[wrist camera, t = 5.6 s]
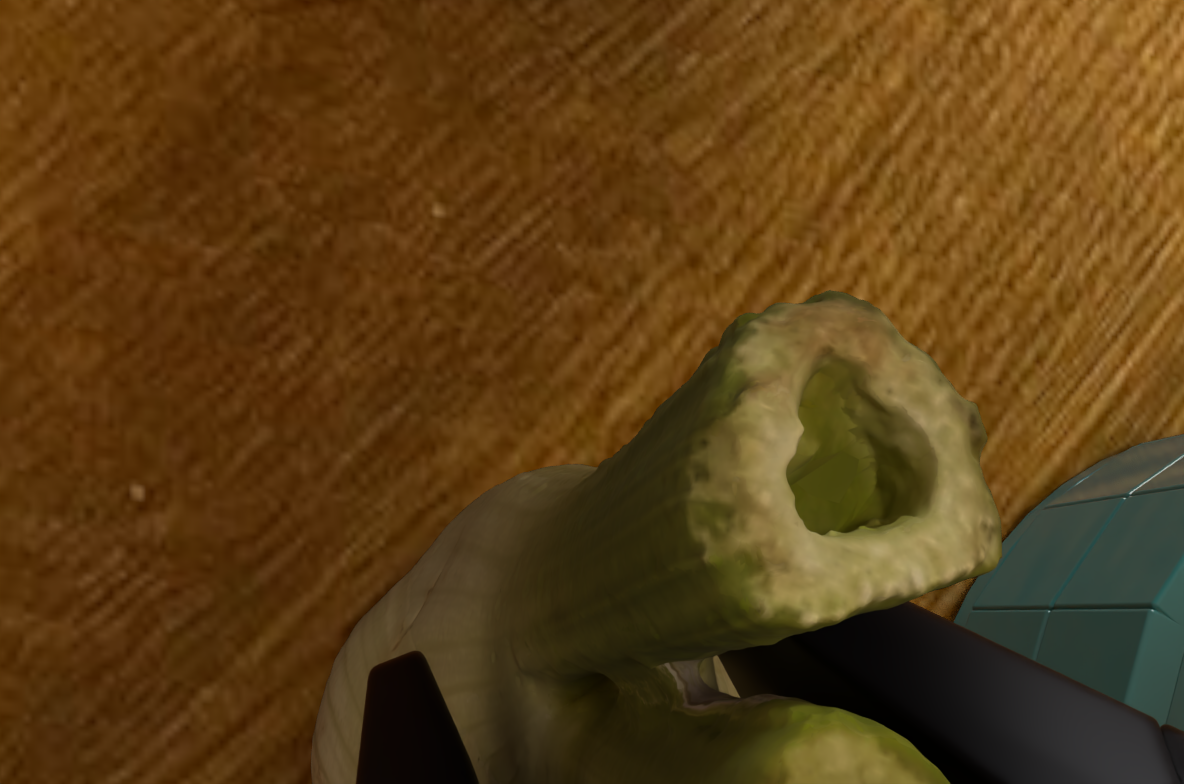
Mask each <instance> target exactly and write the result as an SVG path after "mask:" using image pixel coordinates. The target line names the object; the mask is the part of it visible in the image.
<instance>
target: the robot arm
mask: <svg viewBox="0 0 1184 784" xmlns="http://www.w3.org/2000/svg"><path fill="white" fill-rule="evenodd" d="M717 656H718V657H719V659H720V661H721V663H722V665H723V667H724V669H725V670H726V672H727V674H728V676H729V678H730V680H731V682H732V683H733V685H734V687H735V689H736V691H737V693H738V695H739V696H740V698H745V699H746V698H748V697H751V696H754V695H760V694H772V695H777V696H783V697H793V698H799V699H802V700H805V701H808V702H811V703H813V704H815V705H820V706H826V707H835V708H839V709H843V710H846V711H848V712H851V713H854V714H856V715H859V716H862V717H865V718H868V719H871V720H873V721H876V722H877V723H879V724H882V725H884V726H885V727H887V728H888V729H890V730H892V731H894V732H895V733H897V734H899V735H900V736H902V737H904V738H906V739H907V740H908V741H909V742H910V743H912V744H913V746H914V747H915V748H916V749H917V750H918V751H919V752H920V753H921V754H922V755H923V756H924V757H925V758H927V759H928V760H929V761H930V762H931V763H932V764H934V765H935V766H936V767H937V768H938V769H939V770H940V771H941V772H942V774H943V775H944V776H945V777H946V779H947V780H948V781H949V782H950V784H1184V731H1182V730H1180V729H1178V728H1175V727H1173V726H1171V725H1169V724H1164V725H1162V726H1161V727H1160V726H1159V724H1158V722H1157V720H1156V719H1155V718H1153V717H1151V716H1149V715H1147V714H1145V713H1143V712H1141V711H1139V710H1137V709H1135V708H1132V707H1130V706H1128V705H1126V704H1124V703H1122V702H1120V701H1118V700H1116V699H1114V698H1111V697H1109V696H1107V695H1105V694H1103V693H1101V692H1099V691H1097V690H1095V689H1092V688H1090V687H1088V686H1086V685H1084V684H1082V683H1080V682H1078V681H1076V680H1074V679H1071V678H1069V677H1067V676H1065V675H1063V674H1061V673H1059V672H1057V671H1055V670H1052V669H1050V668H1048V667H1046V666H1044V665H1042V664H1040V663H1038V662H1036V661H1034V660H1031V659H1029V658H1027V657H1025V656H1023V655H1021V654H1019V653H1017V652H1015V651H1013V650H1010V649H1008V648H1006V647H1004V646H1002V645H1000V644H998V643H996V642H994V641H991V640H989V639H987V638H985V637H983V636H981V635H979V634H977V633H975V632H973V631H970V630H968V629H966V628H964V627H962V626H960V625H958V624H956V623H954V622H951V621H949V620H947V619H945V618H943V617H941V616H939V615H937V614H935V613H933V612H930V611H928V610H926V609H924V608H922V607H920V606H918V605H916V604H914V603H911V602H909V601H907V602H905V603H903V604H900V605H898V606H895V607H892V608H889V609H884V610H875V611H871V612H867V613H862V614H859V615H855V616H852V617H850V618H848V619H845V620H843V621H841V622H840V623H837V624H835V625H832V626H826V627H823V628H820V629H818V630H815V631H808V632H805V633H802V634H795V635H792V636H789V637H786V638H784V639H782V640H780V641H778V642H777V643H775V644H772V645H760V646H755V647H747V648H744V649H741V650H729V651H726V652H725V653H722V654H719V655H717ZM356 784H479V781H478V778H477V775H476V773H475V770H474V767H473V765H472V762H471V760H470V757H469V755H468V752H467V750H466V748H465V746H464V743H463V741H462V739H461V736H460V734H459V732H458V730H457V727H456V725H455V723H454V721H453V718H452V716H451V714H450V712H449V709H448V707H447V705H446V702H445V700H444V698H443V696H442V693H441V691H440V689H439V687H438V684H437V682H436V680H435V677H434V675H433V673H432V671H431V668H430V666H429V664H428V662H427V659H426V658H425V656H424V654H423V653H421V652H420V651H416V650H415V651H411V652H408V653H406V654H403V655H401V656H398V657H396V658H393V659H391V660H388V661H386V662H383V663H380V664H378V665H376V666H374V667H373V668H372V669H371V671H370V673H369V676H368V681H367V689H366V698H365V707H364V715H363V724H362V733H361V742H360V750H359V759H358V768H357V777H356Z"/></svg>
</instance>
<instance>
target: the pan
mask: <svg viewBox="0 0 1184 784" xmlns="http://www.w3.org/2000/svg"><path fill="white" fill-rule="evenodd" d="M954 623H956V624H958V625H960V626H962V627H964V628H966V629H968V630H970V631H973V632H975V633H977V634H979V635H981V636H983V637H985V638H987V639H989V640H991V641H994V642H996V643H998V644H1000V645H1002V646H1004V647H1006V648H1008V649H1010V650H1013V651H1015V652H1017V653H1019V654H1021V655H1023V656H1025V657H1027V658H1029V659H1031V660H1034V661H1036V662H1038V663H1040V664H1042V665H1044V666H1046V667H1048V668H1050V669H1052V670H1055V671H1057V672H1059V673H1061V674H1063V675H1065V676H1067V677H1069V678H1071V679H1074V680H1076V681H1078V682H1080V683H1082V684H1084V685H1086V686H1088V687H1090V688H1092V689H1095V690H1097V691H1099V692H1101V693H1103V694H1105V695H1107V696H1109V697H1111V698H1114V699H1116V700H1118V701H1120V702H1122V703H1124V704H1126V705H1128V706H1130V707H1132V708H1135V709H1137V710H1139V711H1141V712H1143V713H1145V714H1147V715H1149V716H1151V717H1153V718H1155V719H1156V720H1157V722H1158V724H1159V726H1160V727H1161V726H1162V725H1164V724H1169V725H1171V726H1173V727H1175V728H1178V729H1180V730H1182V731H1184V434H1180V435H1176V436H1171V437H1167V438H1162V439H1158V440H1153V441H1149V442H1144V443H1140V444H1138V445H1137V446H1133V447H1131V448H1130V449H1128V450H1126V451H1124V452H1121V453H1119V454H1117V455H1114V456H1112V457H1109V458H1107V459H1105V460H1102V461H1100V462H1098V463H1097V464H1095V465H1094V466H1092V467H1090V468H1089V469H1087V470H1085V471H1084V472H1082V473H1081V474H1079V475H1077V476H1076V477H1074V478H1072V479H1071V480H1069V481H1067V482H1066V483H1064V484H1063V485H1061V486H1060V487H1059V488H1058V489H1057V490H1056V491H1054V492H1053V493H1052V494H1051V495H1050V496H1048V497H1047V498H1046V499H1045V500H1044V501H1043V502H1041V503H1040V504H1039V505H1038V506H1037V507H1035V508H1034V509H1033V510H1032V511H1031V512H1030V513H1028V514H1027V515H1026V516H1025V518H1024V519H1023V520H1022V521H1021V522H1020V523H1019V524H1018V526H1017V527H1016V528H1015V529H1014V530H1013V531H1012V532H1011V534H1010V535H1009V536H1008V537H1007V538H1006V539H1005V540H1004V542H1003V543H1002V558H1001V559H1000V560H999V562H998V564H997V566H996V568H995V569H993V570H992V571H991V572H989V573H986V574H984V575H981V576H978V578H977V579H976V581H975V582H974V584H973V585H972V587H971V588H970V590H969V591H968V593H967V595H966V597H965V599H964V601H963V603H962V605H961V607H960V609H959V612H958V614H957V616H956V618H955V620H954Z"/></svg>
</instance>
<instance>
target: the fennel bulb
mask: <svg viewBox="0 0 1184 784" xmlns="http://www.w3.org/2000/svg"><path fill="white" fill-rule="evenodd" d="M986 442H987V435H986V431H985V428H984V426H983V423H982V421H981V417H980V414H979V411H978V407H977V405H976V404H975V403H973V402H970V401H968V400H965V399H964V398H962V397H961V396H960V395H959V394H958V393H957V391H956V390H955V388H954V387H953V385H952V384H951V383H950V381H949V380H948V379H947V378H946V377H945V376H944V375H943V374H942V372H941V371H940V369H939V367H938V365H937V364H936V362H935V361H934V360H933V359H932V358H931V357H930V356H929V355H928V354H927V353H925V352H924V351H922V350H921V349H919V348H917V347H916V346H914V345H913V344H911V343H909V342H907V341H906V340H905V339H904V338H903V337H902V336H901V335H900V333H899V332H898V331H897V330H896V328H895V327H894V326H893V324H892V323H891V322H890V320H889V319H888V318H887V317H886V316H885V314H884V313H883V312H882V311H881V310H880V309H878V308H876V307H874V306H873V305H872V304H870V303H869V302H867V301H864V300H859V299H857V298H855V297H853V296H851V295H849V294H846V293H843V292H836V291H831V290H829V291H826V292H824V293H822V294H819V295H815V296H813V297H811V298H810V299H808V300H807V301H806V302H804V303H801V304H791V303H776V304H773V305H771V306H769V307H768V308H767V309H766V310H765V311H764V312H763V313H760V314H755V313H746V314H743V315H741V316H739V317H737V318H736V319H735V320H734V322H733V323H732V324H731V325H729V326H728V327H727V328H726V330H725V331H724V333H723V335H722V338H721V340H720V344H719V346H717V347H715V348H713V349H711V350H710V351H709V352H708V353H707V354H706V355H705V357H704V359H703V361H702V362H701V364H700V366H699V367H698V369H697V370H696V372H695V373H694V374H693V376H692V377H691V378H690V379H689V381H687V382H686V383H685V384H684V385H682V387H681V388H679V389H678V390H677V391H676V392H675V393H674V394H673V395H672V396H671V397H670V398H668V399H667V400H666V401H665V402H664V403H663V404H661V405H660V406H659V407H658V408H657V410H656V411H655V413H654V415H653V416H652V418H651V419H649V420H648V421H646V422H645V424H644V426H643V427H642V429H641V430H640V431H639V433H638V434H637V435H636V436H635V437H634V438H633V439H632V440H631V441H630V442H629V444H627V445H624V446H623V447H622V448H621V449H620V451H618V452H617V453H616V454H615V455H614V456H613V457H612V458H608V459H606V460H604V461H603V462H602V463H601V464H600V465H599V466H598V467H591V466H587V465H582V464H567V465H560V466H550V467H545V468H540V469H537V470H533V471H530V472H524V473H521V474H518V475H517V476H515V477H513V478H511V479H509V480H507V481H506V482H504V483H502V484H500V485H497V486H495V487H493V488H492V489H490V490H488V491H486V492H485V493H483V494H482V495H481V496H480V497H479V498H477V499H476V500H475V501H473V502H472V503H471V504H470V505H468V506H467V507H466V508H465V509H464V510H463V511H462V512H461V513H460V514H459V515H458V516H457V517H456V518H455V519H454V520H453V521H452V522H451V523H450V524H449V525H448V526H447V527H446V528H445V529H444V530H443V531H442V533H441V534H440V535H439V536H438V538H437V539H436V540H435V541H434V543H433V544H432V545H431V547H430V548H429V549H428V550H427V551H426V552H425V554H424V555H423V556H422V557H421V559H420V560H419V561H418V563H417V564H416V565H415V566H414V567H413V568H412V569H411V570H410V571H409V572H408V573H407V574H406V575H405V576H404V577H403V578H402V579H401V580H400V581H399V582H398V583H397V584H395V585H394V586H393V587H392V588H391V589H390V590H389V591H388V593H387V594H386V595H385V596H384V597H383V598H382V599H381V600H380V601H379V602H378V603H377V604H376V605H375V606H374V607H372V608H371V609H370V610H369V611H368V613H366V614H365V615H364V616H363V617H362V618H361V620H360V621H359V622H358V623H357V624H356V626H355V627H354V629H353V631H352V632H351V634H350V636H349V637H348V639H347V641H346V642H345V644H344V645H343V647H342V648H341V650H340V652H339V653H338V655H337V657H336V659H335V661H334V664H333V667H332V671H331V674H330V676H329V679H328V681H327V683H326V687H325V691H324V695H323V697H322V701H321V705H320V709H319V712H318V716H317V721H316V726H315V731H314V734H313V738H312V752H311V773H312V784H356V777H357V768H358V759H359V750H360V742H361V733H362V724H363V715H364V707H365V698H366V689H367V681H368V676H369V673H370V671H371V669H372V668H373V667H374V666H376V665H378V664H380V663H383V662H386V661H388V660H391V659H393V658H396V657H398V656H401V655H403V654H406V653H408V652H411V651H415V650H416V651H420V652H421V653H423V654H424V656H425V658H426V659H427V662H428V664H429V666H430V668H431V671H432V673H433V675H434V677H435V680H436V682H437V684H438V687H439V689H440V691H441V693H442V696H443V698H444V700H445V702H446V705H447V707H448V709H449V712H450V714H451V716H452V718H453V721H454V723H455V725H456V727H457V730H458V732H459V734H460V736H461V739H462V741H463V743H464V746H465V748H466V750H467V752H468V755H469V757H470V760H471V762H472V765H473V767H474V770H475V773H476V775H477V778H478V781H479V784H950V782H949V781H948V780H947V779H946V777H945V776H944V775H943V774H942V772H941V771H940V770H939V769H938V768H937V767H936V766H935V765H934V764H932V763H931V762H930V761H929V760H928V759H927V758H925V757H924V756H923V755H922V754H921V753H920V752H919V751H918V750H917V749H916V748H915V747H914V746H913V744H912V743H910V742H909V741H908V740H907V739H906V738H904V737H902V736H900V735H899V734H897V733H895V732H894V731H892V730H890V729H888V728H887V727H885V726H884V725H882V724H879V723H877V722H876V721H873V720H871V719H868V718H865V717H862V716H859V715H856V714H854V713H851V712H848V711H846V710H843V709H839V708H835V707H826V706H820V705H815V704H813V703H811V702H808V701H805V700H802V699H799V698H793V697H783V696H777V695H772V694H760V695H754V696H751V697H748V698H746V699H745V698H740V696H739V695H738V693H737V691H736V689H735V687H734V685H733V683H732V682H731V680H730V678H729V676H728V674H727V672H726V670H725V669H724V667H723V665H722V663H721V661H720V659H719V657H718V656H717V655H719V654H722V653H725V652H726V651H729V650H741V649H744V648H747V647H755V646H760V645H772V644H775V643H777V642H778V641H780V640H782V639H784V638H786V637H789V636H792V635H795V634H802V633H805V632H808V631H815V630H818V629H820V628H823V627H826V626H832V625H835V624H837V623H840V622H841V621H843V620H845V619H848V618H850V617H852V616H855V615H859V614H862V613H867V612H871V611H875V610H884V609H889V608H892V607H895V606H898V605H900V604H903V603H905V602H907V601H910V600H912V599H915V598H918V597H920V596H922V595H923V594H926V593H928V592H931V591H934V590H938V589H942V588H945V587H948V586H951V585H953V584H956V583H958V582H961V581H963V580H966V579H969V578H973V577H977V576H981V575H984V574H986V573H989V572H991V571H992V570H993V569H995V568H996V566H997V564H998V562H999V560H1000V559H1001V558H1002V535H1001V521H1000V517H999V514H998V511H997V508H996V505H995V503H994V500H993V497H992V494H991V491H990V490H989V488H988V486H987V484H986V483H985V480H984V477H983V473H982V470H981V467H980V456H981V452H982V449H983V447H984V445H985V444H986Z"/></svg>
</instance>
